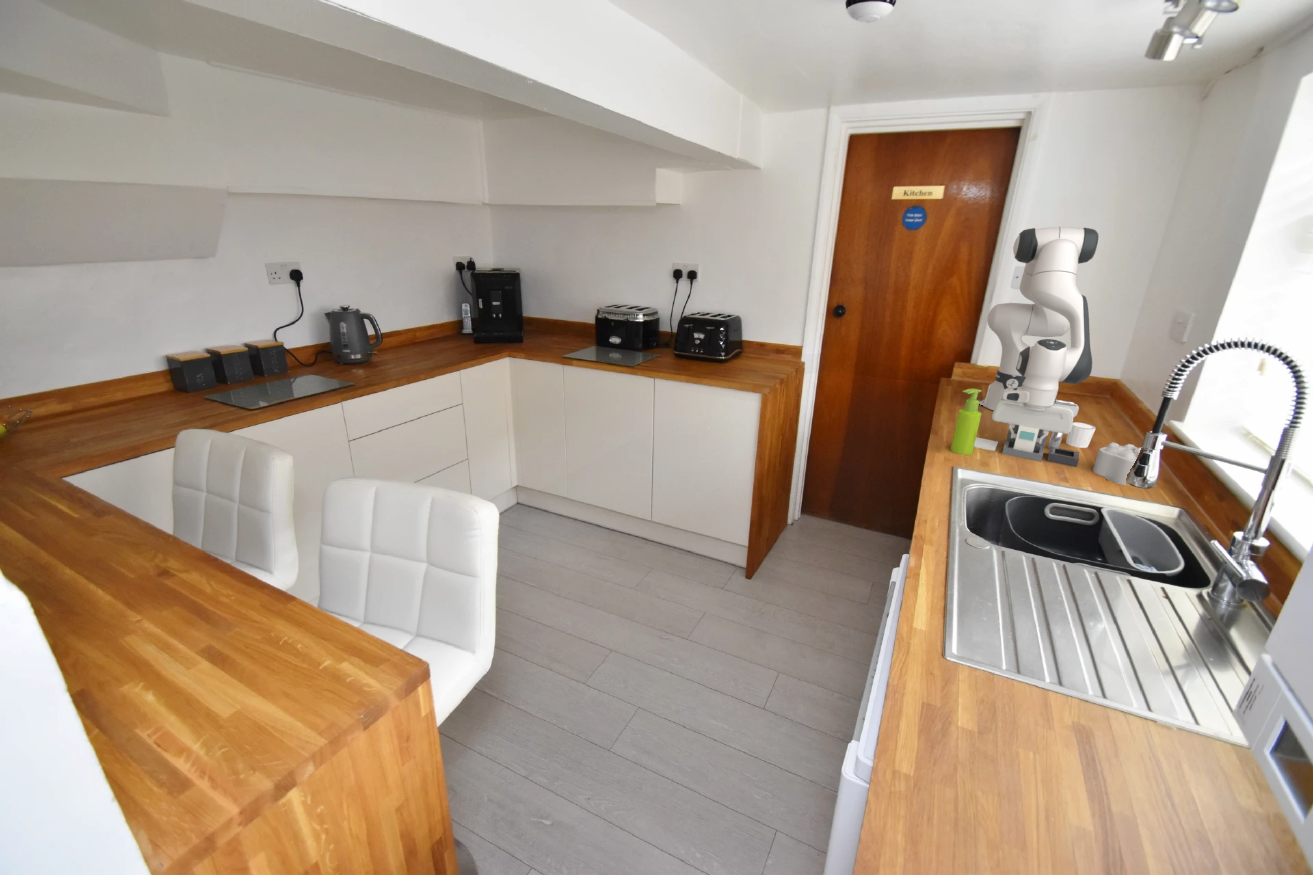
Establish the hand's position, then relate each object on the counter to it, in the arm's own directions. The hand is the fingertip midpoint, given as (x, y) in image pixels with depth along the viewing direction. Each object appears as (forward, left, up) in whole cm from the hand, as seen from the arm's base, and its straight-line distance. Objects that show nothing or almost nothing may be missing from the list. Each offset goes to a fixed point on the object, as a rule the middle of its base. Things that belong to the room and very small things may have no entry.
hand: (1025, 440), depth 171 cm
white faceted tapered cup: (-19, +14, -5) cm, 24 cm away
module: (0, 0, -3) cm, 3 cm away
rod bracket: (0, +10, -5) cm, 11 cm away
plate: (0, -10, -5) cm, 11 cm away
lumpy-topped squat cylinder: (+1, +24, -5) cm, 24 cm away
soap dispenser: (+11, -15, -5) cm, 19 cm away
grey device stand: (0, 0, -5) cm, 5 cm away
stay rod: (-10, +8, -5) cm, 13 cm away
